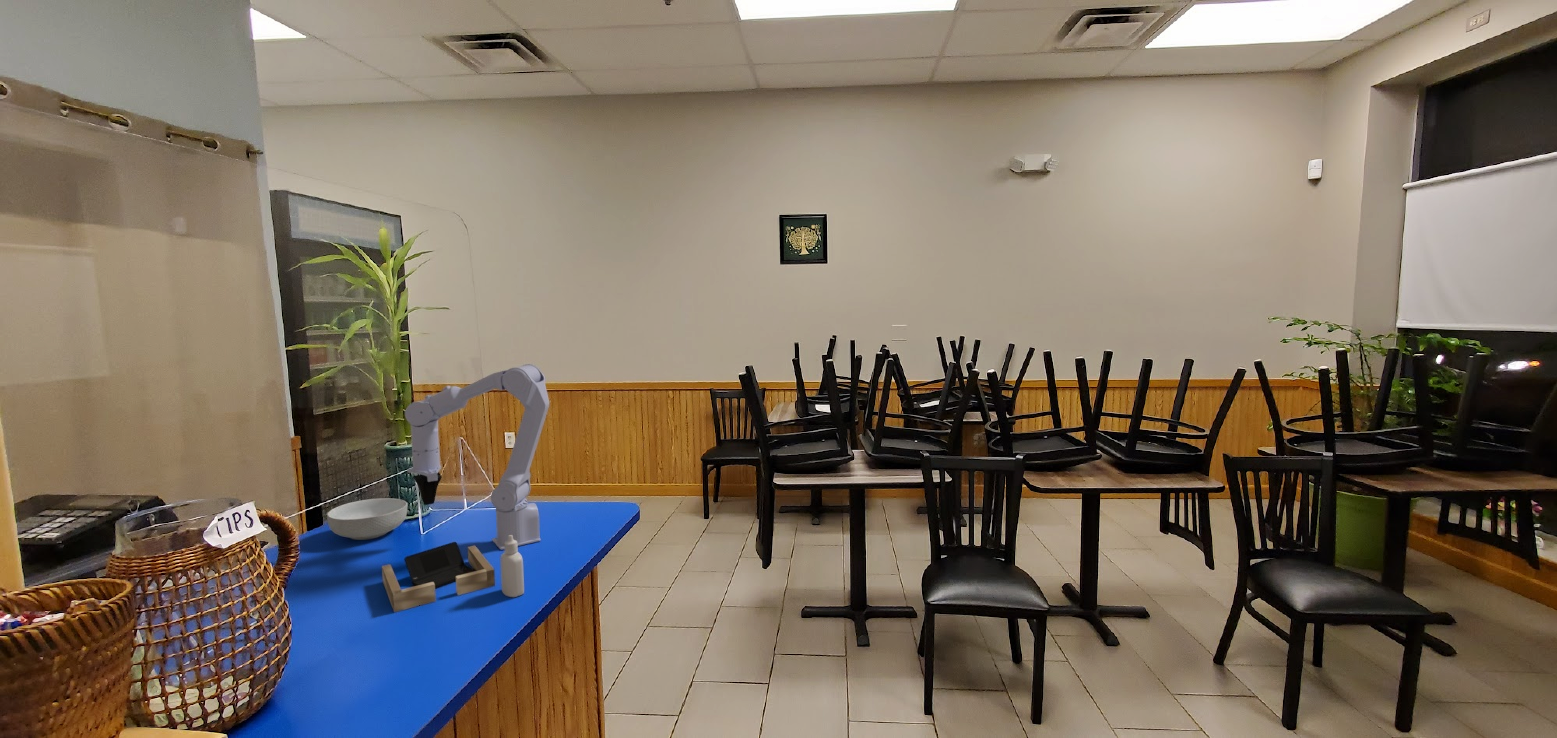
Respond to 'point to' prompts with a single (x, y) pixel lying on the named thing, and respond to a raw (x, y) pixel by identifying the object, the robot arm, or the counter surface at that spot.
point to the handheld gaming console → (437, 565)
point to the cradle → (427, 591)
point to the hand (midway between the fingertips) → (428, 503)
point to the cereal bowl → (367, 518)
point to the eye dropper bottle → (512, 569)
